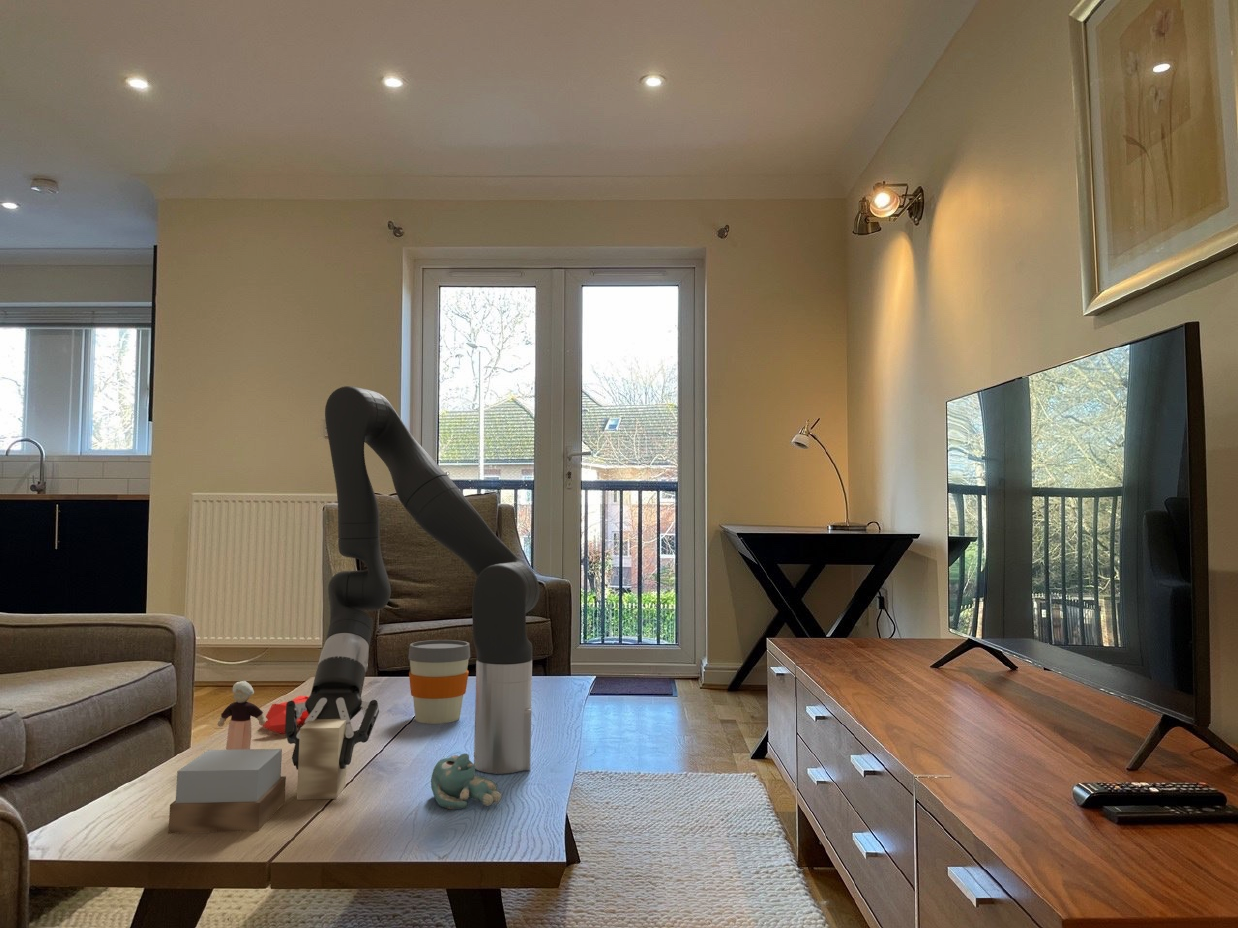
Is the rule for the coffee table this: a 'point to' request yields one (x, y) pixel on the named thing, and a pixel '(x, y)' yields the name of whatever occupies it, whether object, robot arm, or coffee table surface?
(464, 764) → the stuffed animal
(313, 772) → the oak block
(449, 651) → the reusable coffee cup
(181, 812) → the tower base
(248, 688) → the grandmother figurine
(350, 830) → the coffee table surface
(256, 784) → the tower top
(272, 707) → the animal figurine
